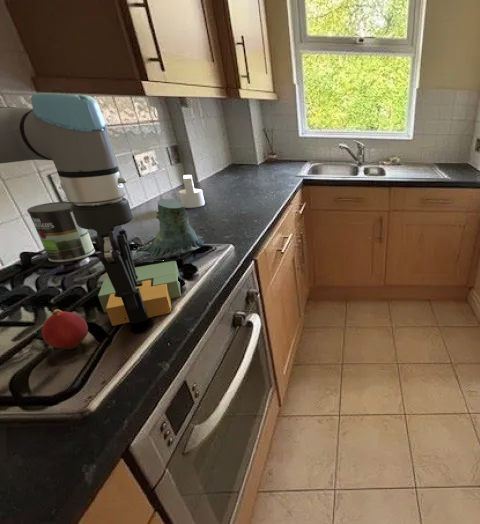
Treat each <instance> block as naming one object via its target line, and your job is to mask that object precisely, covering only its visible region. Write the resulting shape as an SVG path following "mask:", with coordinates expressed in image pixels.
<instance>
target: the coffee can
mask: <svg viewBox="0 0 480 524" xmlns="http://www.w3.org/2000/svg"><path fill="white" fill-rule="evenodd" d="M72 204H73V203H72V202H69V201H55V202H54V201H53V202H47V203H41V204H36V205H33V206H31V207H28V208H27V209H26V211H27V213H28V214H29V217H30V219H31V221H32V224H33V226H34V228H35V230H36V232H37V235H38V238H39V240H40V242H41V244H42V246H43V249H44V251H45V252H44V253H46V256H47V260H48V261H49V262H51V263H67V262H73V261H74V262H75V261H78V260H82V259H84V258H87V257H89V256H92V255H93V254H94V253H95V252H96V249H95V247H94V245H93V241H92V239H91V235H90V233H89V229H83V228H80V227H79V226H78V225H77V223H76V221H75V218H74V215H73V213H72V210H71V206H72Z"/></svg>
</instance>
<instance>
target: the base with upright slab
mask: <svg viewBox="0 0 480 524" xmlns="http://www.w3.org/2000/svg"><path fill="white" fill-rule="evenodd" d="M182 181H183V185H184V189H181V190H179V191H177V192H178V196H179V202H181V203H182V204H183V206H184V208H185V209H194V208H200V207H203V206H205V205H206V202H205V198H204V193H203V189H201V188H195V186H194V180H193V176H192V174H183V176H182Z"/></svg>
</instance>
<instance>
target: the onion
mask: <svg viewBox="0 0 480 524" xmlns="http://www.w3.org/2000/svg"><path fill="white" fill-rule="evenodd" d="M88 332H89V326H88V323H87V321H86V320H85V319H84V317H83V316H81V315H79V314H77V313H74V312H71V311H63V310H61V309H54V310H53V311H52V313H51V315H50V316H49V317H48V318H46V320H45V321H44V323H43V325H42V327H41V336H42V339H43V342H45V343H46V345H48V346H50V347H52V348H55V349H66V350H75V349H76V348H77V347H78V346H79V345H80V344H81V343H82V342H83V341H84V340H85V338H86V337H87V335H88Z"/></svg>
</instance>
